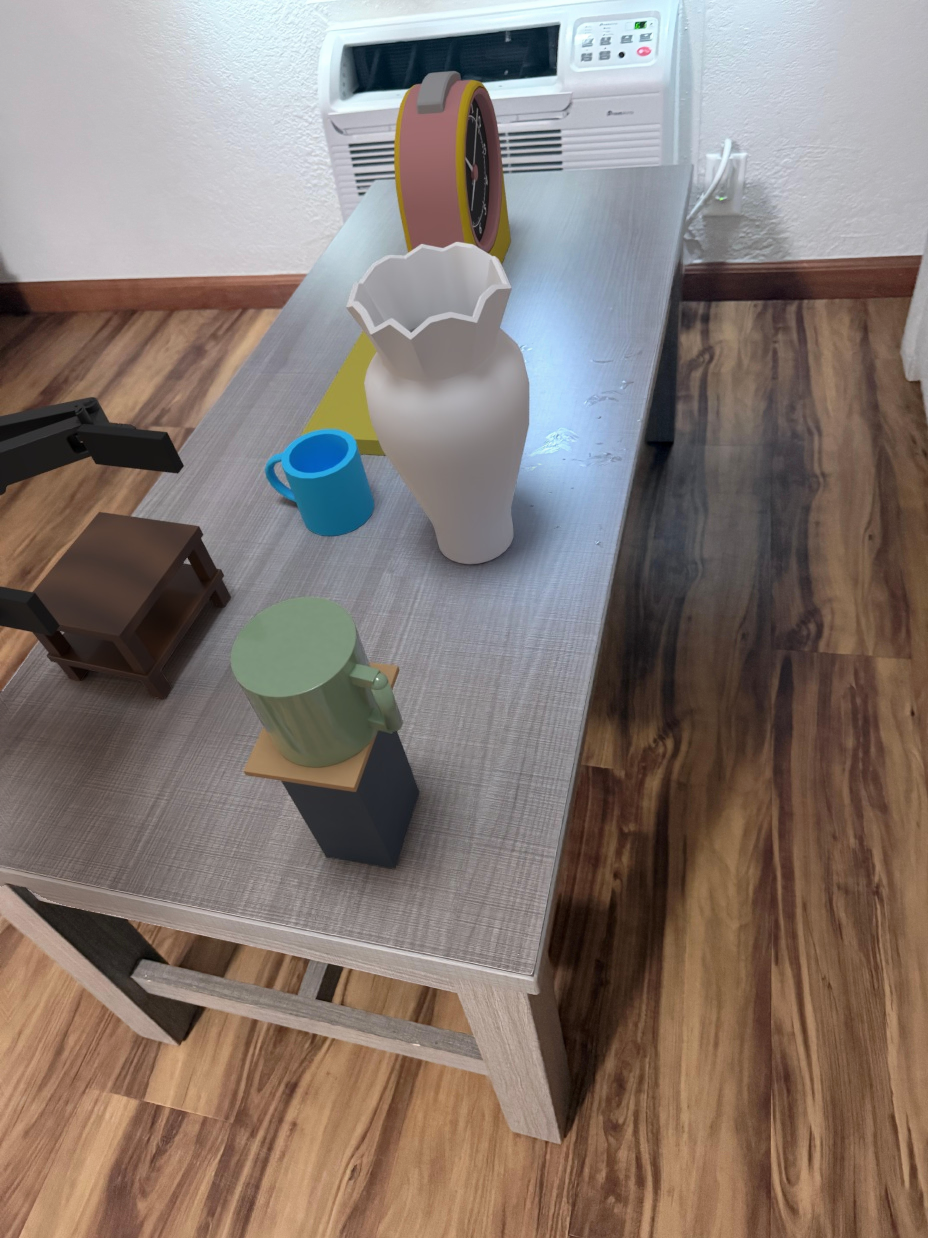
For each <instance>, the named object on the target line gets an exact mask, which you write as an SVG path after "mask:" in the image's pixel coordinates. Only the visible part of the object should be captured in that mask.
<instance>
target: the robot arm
mask: <svg viewBox="0 0 928 1238" xmlns="http://www.w3.org/2000/svg"><path fill="white" fill-rule="evenodd" d="M88 458H91V459H92V460H93V462H94V464H95V465H98V466H99V465H101V466H109V467H116V468H124V469H125V468H126V469H133V470H143V471H149V472H150V471H151V472H152V471H153V472H159V473H160V472H161V473H169V474H176V475H177V474H180V472H181V471H182V470H183V468H184V467H185V465H184V462H183V460H182V459H181V457H180V454H179V453H178V450H177V448H176V447H175V445H174V443H173V441H172V438H171V436H170V435H169V433H168V431H161V430H151V429H141V428H137V427H136V426H134V425H132V424H130V423H121V422H119V423H118V422H110V420H109V418H108V417H107V414H106V413H105V411H104V409H103V408H102V406H101V404H100V402H99V400H98V398H97V397H96V396H88V397H83V398H79V399H75V400H70V401H65V402H60V403H56V404H51V405H47V406H42V407H38V408H31V409H27V410H23V411H18V412H14V413H9V414H4V415H0V496H3V495H4V494H6V493H7V488H8V486H11V485H14V484H17V483H20V482H22V481H23V482H24V481H26V480H28V479H31V478H34V477H37V476H40V475H43V474H45V473H48V472H52V471H54V470H56V469H60V468H62V467H65V466H67V465H68V466H69V465H71V464H74V463H76V462H79V461H82V460H85V459H88ZM59 626H60V625H59V624H58V622H57V621H56V620H55V618H54V617H53V616H52V614H51V613H50V612H49V610H48V609H47V608H46V606H45V605H44V604H43V602H42V601H41V600H40V599H39V597H38V596H37V595H36V593H34V592H33V591H29V590H23V589H17V588H11V587H5V586H0V627H5V628H9V629H14V630H19V631H24V632H30V633H32V632H34V633H39V634H45V635H50V636H52V635H53V634H54V633H55V632H56V630H57V629H58V628H59Z"/></svg>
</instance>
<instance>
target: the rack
mask: <svg viewBox="0 0 928 1238" xmlns="http://www.w3.org/2000/svg"><path fill="white" fill-rule="evenodd" d="M203 537H204V533H203V531H202V529H201V527H200V525H194V524H188V523H181V522H173V521H166V520H161V519H152V518H145V517H138V516H131V515H124V514H117V513H112V512H111V513H110V512H104V511H98V513H97V514H96V515H95V516H94V517H93V518H92V520H91V521H90V522H89V523H88V525H87V526H86V527H85V528H84V529H83V531H82V532H81V533H80V534H79V535H78V536H77V538H76V539H75V540H73V543H72V544H71V545H70V546H69V547H68V549H66V551H65V552H64V553H63V554H62V556H61V557H60V558H59V559H58V561H56V563H55V564H54V565H53V566H52V567H51V569H50V570H49V571H48V572H47V573H46V574H45V576H44V577H43V578H42V579H41V581H40V582H39V583H38V585H36V587H35V588H34V589H33V590H32V592H34V593H36V595H37V596H38V597H39V599H40V600H41V601H42V602H43V604H44V605H45V606H46V608H47V609H48V610H49V612H50V613H51V614H52V616H53V617H54V618H55V620H56V621H57V622H58V624H59V625H60V626H59V628H58V629H57V630H56V632H55V633H54V634H53V635H52V636H50V635H45V634H39V633H34V632H31V633H32V634H33V635H34V636H35V638H36V639H37V640H38V642H40V644H41V645H42V647H43V648H44V649H45V650H46V651H47V654H46V655H45V657H47V659H48V660H49V661H50V662H51V663H55V664H57V665H58V666H59V668H60V669H61V670H62V671H63V673H64V674H65V675H66V676H67V678H68V679H69V680H75V681H77V682H78V681H79V682H82V681H83V679H84V678H85V677H86V675H87V674H88V673H89V671H92V672H97V673H103V674H107V675H112V676H116V677H121V678H124V679H125V678H126V679H130V680H135V681H139V682H140V683H142V685H143V686H144V688H145V689H146V690H147V692H148V693H149V695H150V697H152V698H156V699H161V700H165V699H166V698H167V697H168V695H169V693H170V692H171V690H172V688H173V686H172V685H171V684H170V682H169V680H168V679H167V678H166V676H165V675H164V673H163V672H162V669H163V668H164V667H165V665H166V664H167V662H168V661H169V659H170V658H171V656H173V655H172V654H173V653H174V652H175V650H176V649H177V648H178V646H179V645H180V643H181V641H182V640H183V639H184V637H185V636H186V634H187V632H188V631H189V630H190V628H191V626H192V624H194V622H195V620H196V619H197V617H198V616H199V614H200V613H201V611H202V610H203V608H204V607H205V605H206V604H207V603H208V601H209V600H210V602H211V604H212V605H213V606H216V607H217V606H218V607H222V608H226V606H227V605H228V603H229V601H230V600H231V598H232V595H231V594H230V592H229V590H228V588H227V586H226V584H225V582H224V580H223V578H224V577H225V574H224V572H223V570H222V569H221V568H217V567H216V565H215V562H214V560H213V558H212V557H211V554H210V553H209V550H208V549H207V547H206V545H205V544H204V541H203V539H202V538H203ZM186 560H187V561H188V562H189V563H185V561H186Z"/></svg>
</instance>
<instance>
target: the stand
mask: <svg viewBox="0 0 928 1238" xmlns="http://www.w3.org/2000/svg"><path fill="white" fill-rule="evenodd" d="M369 663H370V666H371V667H372V668H376V669H379V670H380V672H381V673H383V674H385V675H386V676H387V678H388V680H389V683H390V686H391V689H392V691H393V690H394V688H395V685H396V682H397V679H398V676H399V673H400V667H399V665H398V664H397V665H396V664H387V663H380V662H379V663H378V662H370V661H369ZM243 773H244V775H245V776H247V777H254V778H260V779H267V780H272V781H273V780H274V781H280V782H281V784H282V785H283V787H284V789H285V790H286V792H287V793H288V795H289V797H290V799H291V801H292V802H293V804H294V806H295V807H296V809H297V811H298V813H299V815H301V817H302V819H303V821H304V822H305V824H306V826H307V828H308V829H309V831H310V832H311V834H312V836H313V838H314V839H315V841H316V843H317V845H318V846H319V848H320V849H321V851H322V854H323V855H324V856H325V858H330V859H334V860H335V859H336V860H340V861H347V862H352V863H353V862H354V863H359V864H364V865H369V866H377V867H381V868H388V869H392V870H393V869H394V870H396V869H397V866H398V863H399V860H400V857H401V853H402V850H403V846H404V843H405V840H406V837H407V834H408V830H409V827H410V825H411V824H410V823H411V821H412V817H413V814H414V810H415V808H416V805H417V801H418V798H419V795H420V789H419V786H418V783H417V780H416V778H415V775H414V773H413V770H412V768H411V764H410V762H409V759H408V757H407V753H406V751H405V749H404V745H403V744H402V740H401V738H400V735H399V731H396V732H393V733H392V734H390V733H387V732H383V731H380V730H378V732H377V734H376V735H375V737H374V738H373V739H372V741H371V742H370V743H369V744H368V745H367V746H366V747H365V748H364V749H363V750H362V751H360V752H359V753H358V754H356V755H355V756H353V757H352V758H350V759H348V760H346V761H344V762H341V763H338V764H335V765H331V766H326V767H305V766H301V765H297V764H295V763H292V762H290V761H289V760H287V759H286V758H284V757H283V756H282V755H281V754H280V753H279V752H278V751H277V749H276V748H275V746H274V745H273V743H272V741H271V739H270V738H269V736H268V734H267V732H266V730H265V729H264V727H263V726H262V729H261V731H260V733H259V735H258V737H257V740H256V742H255V744H254V747H253V748H252V751H251V752H250V755H249V757H248V759H247V762H246V763H245V766H244V768H243Z"/></svg>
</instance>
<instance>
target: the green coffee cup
mask: <svg viewBox="0 0 928 1238" xmlns="http://www.w3.org/2000/svg"><path fill="white" fill-rule="evenodd" d="M369 662H370V661H369V659H368V655H367V653H366V650H365V647H364V645H363V643H362V639H361V637H360V634H359V631H358V629H357V625H356V623H355V620H354V619H353V617H352V615H351V614H350V613H349V611H348V610H347V609H346V608H344V607H343V606H342V605H341V604H339V603H337V602H335V601H333V600H331V599H328V598H324V597H318V596H298V597H292V598H289V599H285V600H281V601H279V602H276V603H273V604H271V605H270V606H268V607H266V608H264V609H263V610H261V611H259V612H258V613H257V614H256V615H254V616H253V617H252V618H250V620H249V621H248V622H246V623H245V625H244V626H243V627H242V628H241V630H240V631H239V632H238V634H237V636H236V638H235V639H234V642H233V644H232V647H231V652H230V667H231V671H232V673H233V676H234V679H236V681H237V683H238V685H239V686H240V689H241V690H242V692H243V694H244V696H245V697H246V699H247V700H248V703H249V704H250V706H251V707H252V710H253V711H254V713H255V714H256V717H257V718H258V720H259V722H260V723H261V726H262V728H263V727H264V729H265V730H266V732H267V734H268V736H269V738H270V739H271V741H272V743H273V745H274V746H275V748H276V749H277V751H278V752H279V753H280V754H281V755H282V756H283V757H284V758H286V759H287V760H289V761H290V762H292V763H295V764H297V765H301V766H305V767H326V766H331V765H335V764H338V763H341V762H344V761H346V760H348V759H350V758H352V757H353V756H355V755H356V754H358V753H359V752H360V751H362V750H363V749H364V748H365V747H366V746H367V745H368V744H369V743H370V742H371V741H372V739H373V738H374V737H375V735H376V734H377V732H378V730H380V731H383V732H387V733H390V734H392V733H393V732H396V731H397V732H399V731H400V730H401V729H402V727H403V725H404V720H403V718H402V715H401V712H400V709H399V706H398V703H397V700H396V698H395V694H394V692H393V690H392V689H391V686H390V683H389V680H388V678H387V676H386V675H385V674H383V673H381V672H380V670H379V669H376V668H372V667H371V666H370V663H371V662H370V663H369Z"/></svg>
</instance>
